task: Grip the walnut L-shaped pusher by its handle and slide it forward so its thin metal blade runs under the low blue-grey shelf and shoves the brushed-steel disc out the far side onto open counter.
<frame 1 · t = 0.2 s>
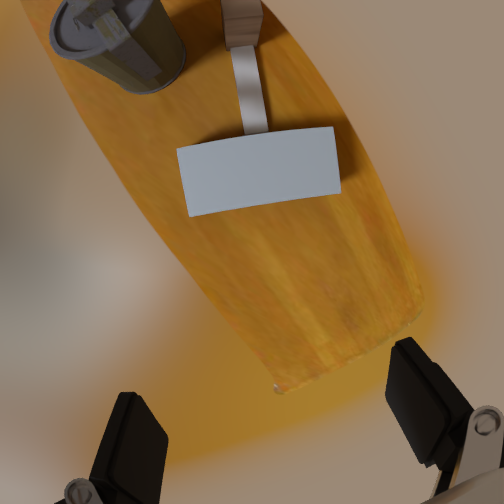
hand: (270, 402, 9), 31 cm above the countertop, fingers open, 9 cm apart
canister: (150, 62, 30), on the countertop
pusher: (239, 37, 30), on the countertop
shelf: (257, 167, 36), on the countertop
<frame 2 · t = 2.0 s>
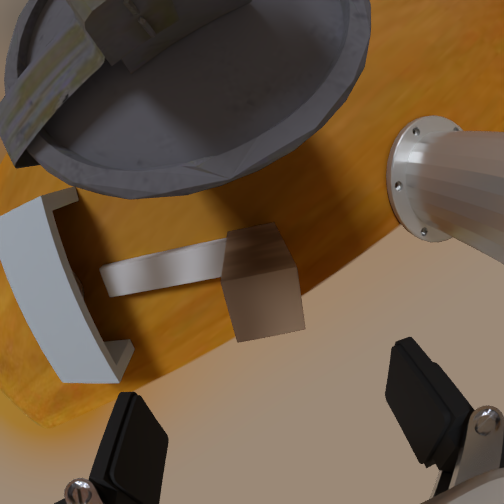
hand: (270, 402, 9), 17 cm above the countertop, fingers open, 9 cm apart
canister: (213, 107, 21), on the countertop
pusher: (255, 249, 25), on the countertop
shelf: (73, 281, 25), on the countertop
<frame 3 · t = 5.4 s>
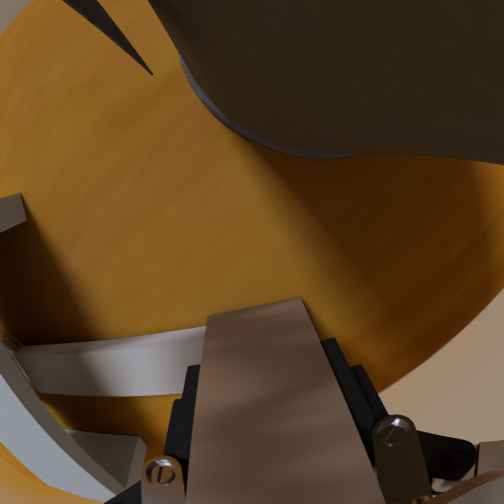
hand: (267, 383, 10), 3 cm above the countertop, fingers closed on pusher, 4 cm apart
token: (14, 359, 13), on the countertop, touching pusher
canister: (306, 40, 9), on the countertop
pusher: (262, 343, 12), on the countertop, touching gripper, token
shelf: (38, 355, 13), on the countertop
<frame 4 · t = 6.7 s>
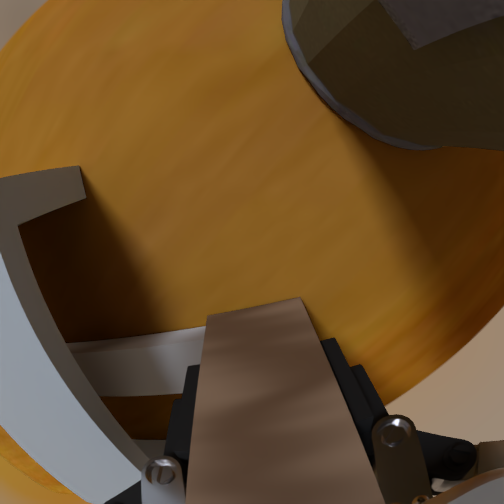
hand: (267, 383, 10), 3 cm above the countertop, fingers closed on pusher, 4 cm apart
canister: (391, 42, 9), on the countertop
pusher: (262, 343, 12), on the countertop, touching gripper
shelf: (81, 357, 12), on the countertop
when the fingers open (3 cm above the countertop, at t = 7.6 s): pusher stays where it is, on the countertop.
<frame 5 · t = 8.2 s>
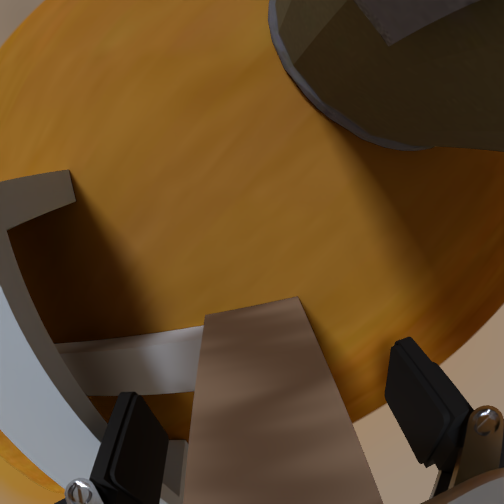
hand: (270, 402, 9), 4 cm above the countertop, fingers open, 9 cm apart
canister: (381, 41, 9), on the countertop
pusher: (259, 342, 13), on the countertop
shelf: (74, 358, 12), on the countertop
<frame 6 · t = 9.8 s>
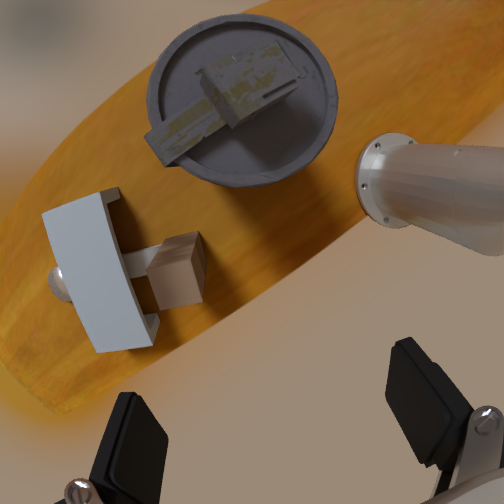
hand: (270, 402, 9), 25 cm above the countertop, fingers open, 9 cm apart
token: (68, 279, 32), on the countertop
canister: (229, 130, 30), on the countertop
pusher: (186, 251, 33), on the countertop
shelf: (110, 265, 32), on the countertop
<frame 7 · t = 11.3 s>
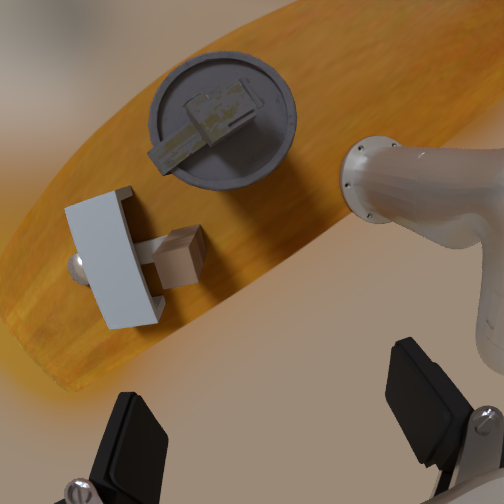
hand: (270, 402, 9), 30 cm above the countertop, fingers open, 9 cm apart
token: (86, 265, 39), on the countertop
canister: (226, 137, 34), on the countertop
pusher: (189, 241, 38), on the countertop
shelf: (123, 253, 38), on the countertop
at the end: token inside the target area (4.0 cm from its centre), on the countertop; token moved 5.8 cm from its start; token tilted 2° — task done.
